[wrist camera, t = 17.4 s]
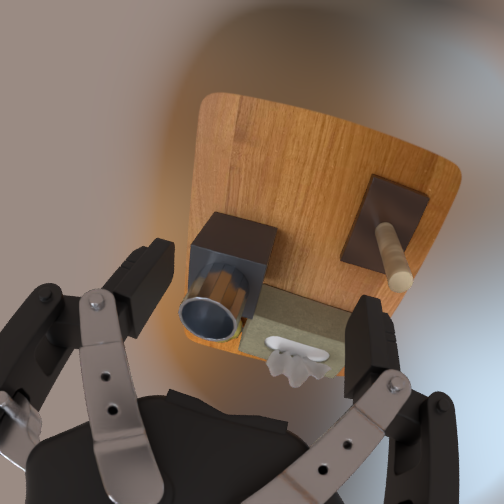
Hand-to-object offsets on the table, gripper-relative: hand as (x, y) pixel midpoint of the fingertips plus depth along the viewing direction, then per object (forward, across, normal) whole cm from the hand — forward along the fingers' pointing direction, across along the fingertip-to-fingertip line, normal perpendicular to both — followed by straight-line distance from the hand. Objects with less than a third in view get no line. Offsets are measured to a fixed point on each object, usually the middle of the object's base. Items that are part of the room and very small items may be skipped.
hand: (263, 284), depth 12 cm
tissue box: (+30, -8, +31) cm, 45 cm away
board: (+31, -15, +10) cm, 35 cm away
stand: (+31, +5, +20) cm, 37 cm away
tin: (+21, +5, +20) cm, 29 cm away
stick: (+29, -15, +10) cm, 34 cm away
